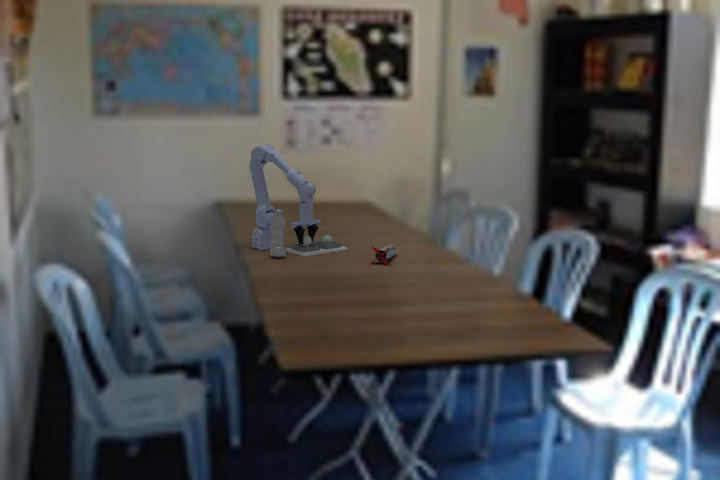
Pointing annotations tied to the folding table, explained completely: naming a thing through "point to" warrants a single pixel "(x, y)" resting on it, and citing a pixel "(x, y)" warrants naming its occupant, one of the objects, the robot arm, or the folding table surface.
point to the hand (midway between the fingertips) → (305, 243)
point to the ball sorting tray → (315, 248)
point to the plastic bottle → (278, 234)
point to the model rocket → (384, 253)
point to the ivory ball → (306, 240)
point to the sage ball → (327, 240)
